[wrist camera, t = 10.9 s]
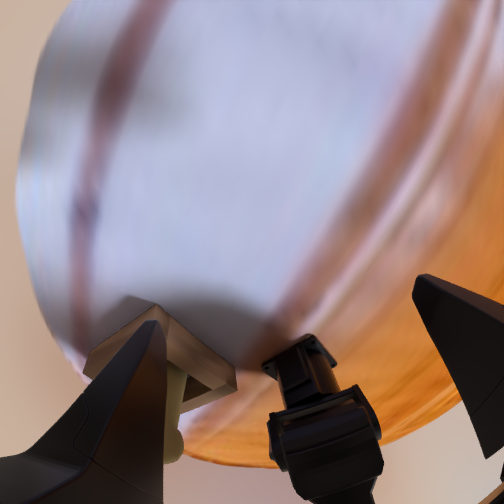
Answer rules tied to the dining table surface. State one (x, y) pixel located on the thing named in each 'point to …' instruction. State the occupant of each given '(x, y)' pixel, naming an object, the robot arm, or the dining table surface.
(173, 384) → the cork
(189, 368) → the socket block
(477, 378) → the robot arm
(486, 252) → the dining table surface
